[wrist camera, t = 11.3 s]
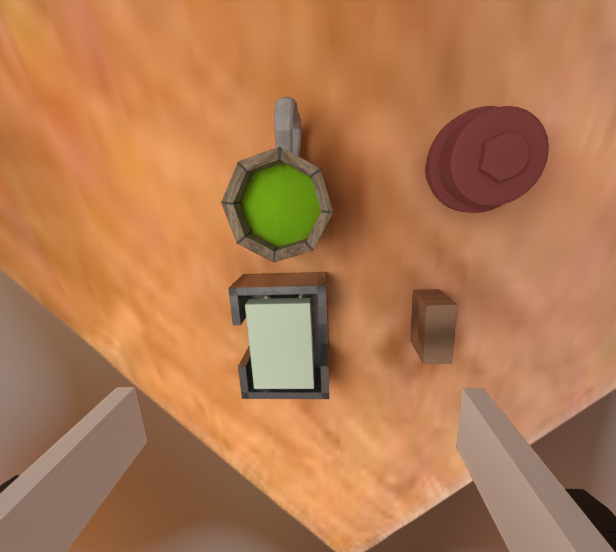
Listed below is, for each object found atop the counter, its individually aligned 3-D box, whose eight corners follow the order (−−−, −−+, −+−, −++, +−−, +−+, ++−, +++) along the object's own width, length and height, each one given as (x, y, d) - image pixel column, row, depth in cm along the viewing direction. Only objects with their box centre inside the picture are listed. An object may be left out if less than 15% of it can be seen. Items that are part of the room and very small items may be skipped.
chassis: (243, 274, 43) (228, 287, 36) (326, 272, 42) (325, 285, 36) (253, 371, 47) (242, 398, 41) (329, 371, 46) (329, 398, 40)
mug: (327, 247, 41) (327, 267, 29) (251, 240, 41) (221, 257, 30) (340, 122, 37) (345, 89, 25) (254, 116, 37) (221, 81, 26)
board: (249, 299, 38) (245, 304, 36) (310, 297, 38) (309, 303, 36) (257, 379, 41) (254, 388, 39) (314, 379, 41) (313, 388, 39)
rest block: (413, 290, 42) (426, 305, 36) (439, 289, 41) (457, 304, 36) (410, 341, 44) (423, 363, 38) (435, 341, 43) (451, 363, 38)
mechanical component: (508, 154, 36) (456, 223, 39) (442, 108, 36) (393, 182, 38) (596, 134, 24) (512, 236, 27) (500, 64, 24) (422, 176, 26)
